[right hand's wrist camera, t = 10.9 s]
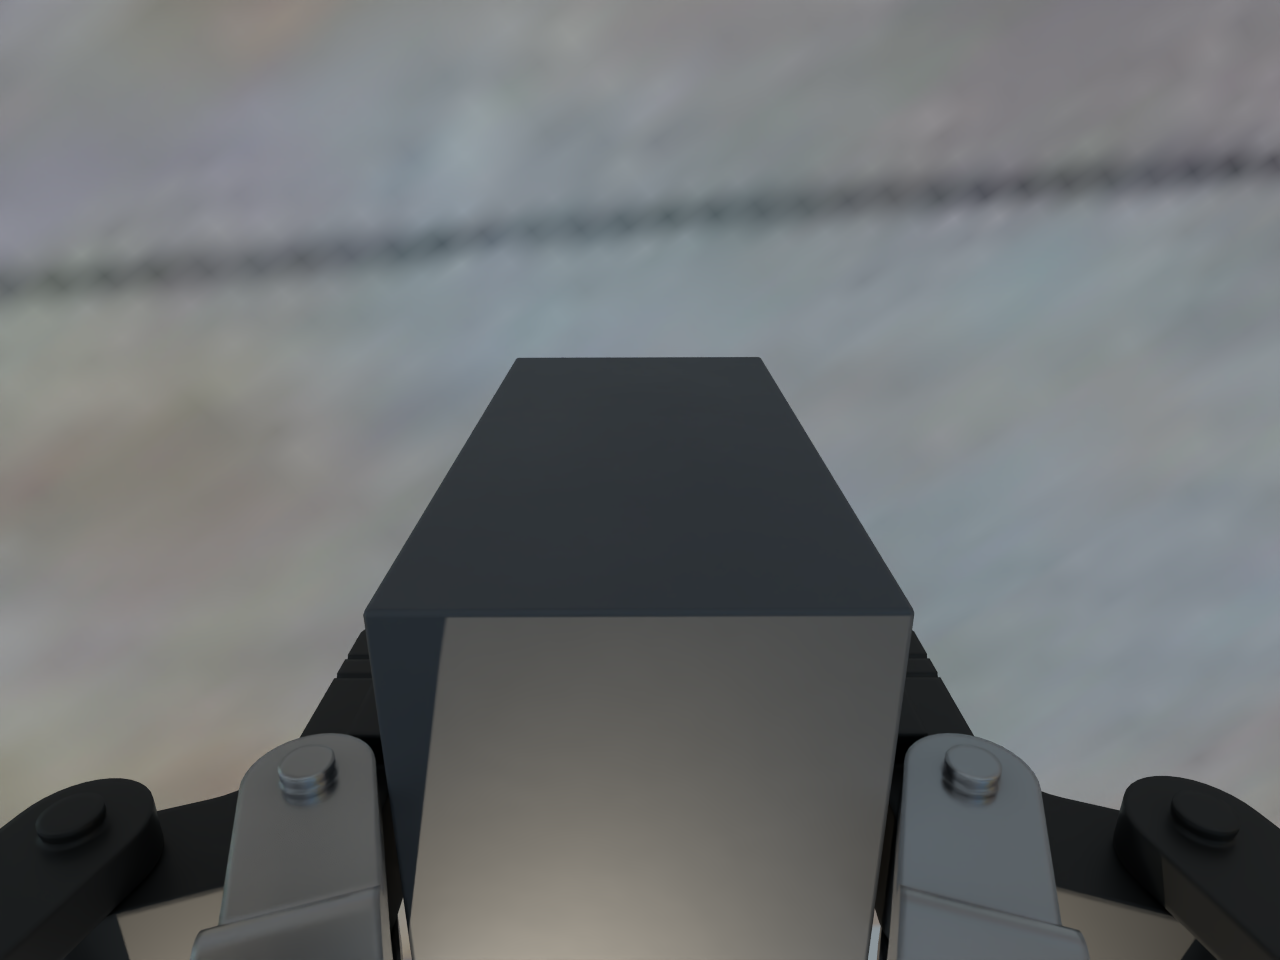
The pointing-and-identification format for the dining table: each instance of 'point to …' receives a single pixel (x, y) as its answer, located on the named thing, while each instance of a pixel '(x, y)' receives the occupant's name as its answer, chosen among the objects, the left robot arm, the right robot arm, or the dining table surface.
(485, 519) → the bar
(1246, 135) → the dining table surface
